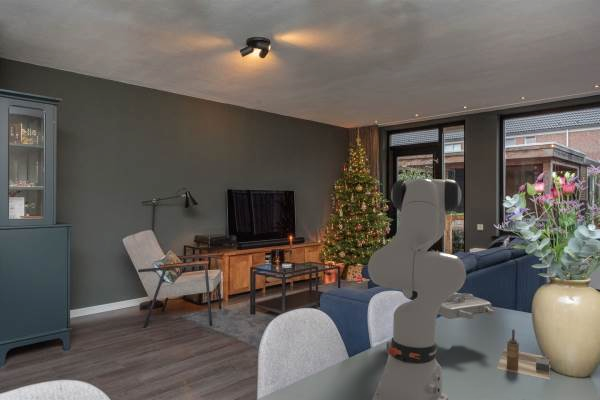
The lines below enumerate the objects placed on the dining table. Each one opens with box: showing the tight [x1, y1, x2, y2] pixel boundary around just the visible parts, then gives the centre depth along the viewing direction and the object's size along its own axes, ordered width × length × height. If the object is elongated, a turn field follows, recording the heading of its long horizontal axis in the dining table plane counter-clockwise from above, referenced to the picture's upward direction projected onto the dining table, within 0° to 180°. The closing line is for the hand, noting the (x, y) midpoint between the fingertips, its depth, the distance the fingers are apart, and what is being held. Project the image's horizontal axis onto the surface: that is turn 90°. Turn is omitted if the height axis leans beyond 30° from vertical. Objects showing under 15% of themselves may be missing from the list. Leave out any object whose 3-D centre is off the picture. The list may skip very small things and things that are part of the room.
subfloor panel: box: [496, 348, 551, 381], centre depth 135 cm, size 20×14×1 cm
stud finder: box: [536, 355, 550, 372], centre depth 132 cm, size 6×4×2 cm, turn 149°
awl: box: [506, 329, 520, 370], centre depth 131 cm, size 3×3×12 cm
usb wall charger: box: [385, 341, 391, 356], centre depth 143 cm, size 4×7×4 cm, turn 91°
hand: (482, 314), depth 142 cm, fingers open, 8 cm apart
